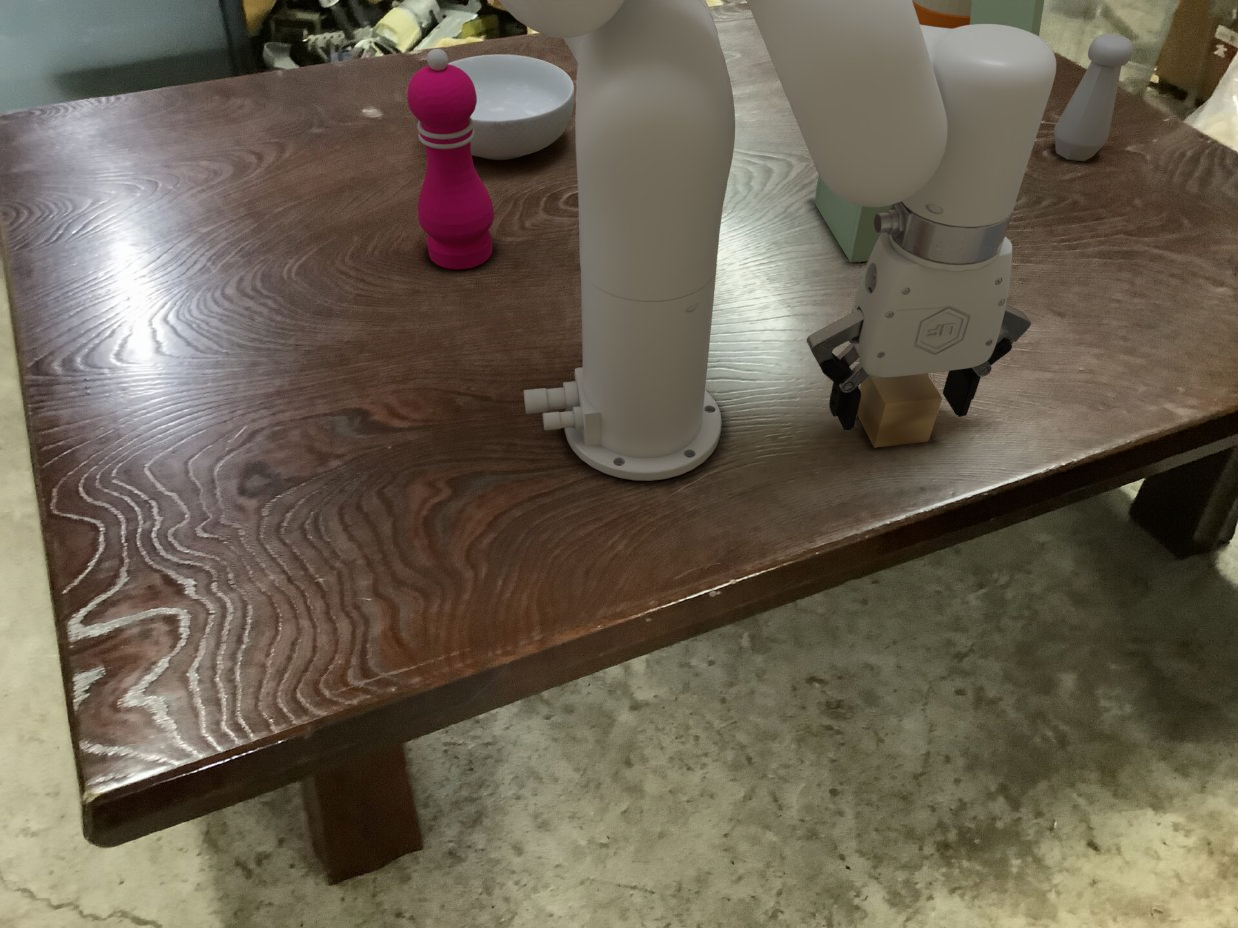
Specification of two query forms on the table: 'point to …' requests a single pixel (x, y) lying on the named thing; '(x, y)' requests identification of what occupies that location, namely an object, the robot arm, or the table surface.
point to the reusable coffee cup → (943, 12)
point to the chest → (849, 223)
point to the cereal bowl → (517, 104)
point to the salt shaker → (1093, 100)
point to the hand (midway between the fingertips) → (898, 411)
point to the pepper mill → (450, 166)
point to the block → (898, 409)
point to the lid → (1009, 13)
